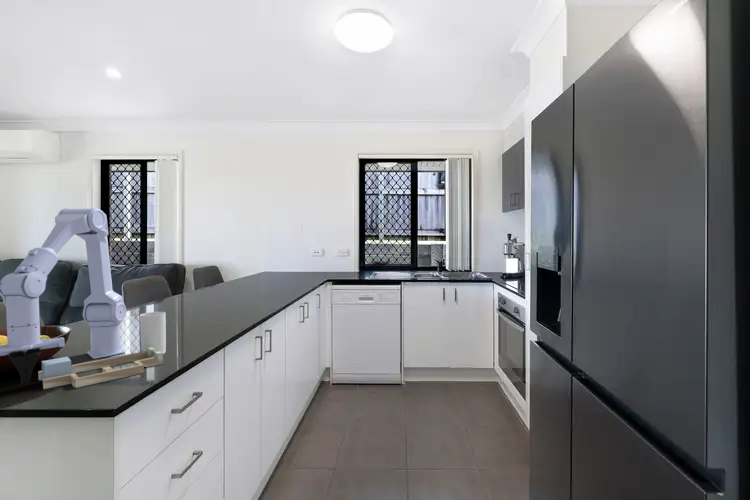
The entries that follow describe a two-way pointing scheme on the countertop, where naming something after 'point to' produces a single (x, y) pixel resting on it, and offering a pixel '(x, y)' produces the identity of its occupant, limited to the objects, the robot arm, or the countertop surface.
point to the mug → (153, 331)
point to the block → (56, 367)
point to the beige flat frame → (106, 369)
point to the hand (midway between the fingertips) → (25, 383)
